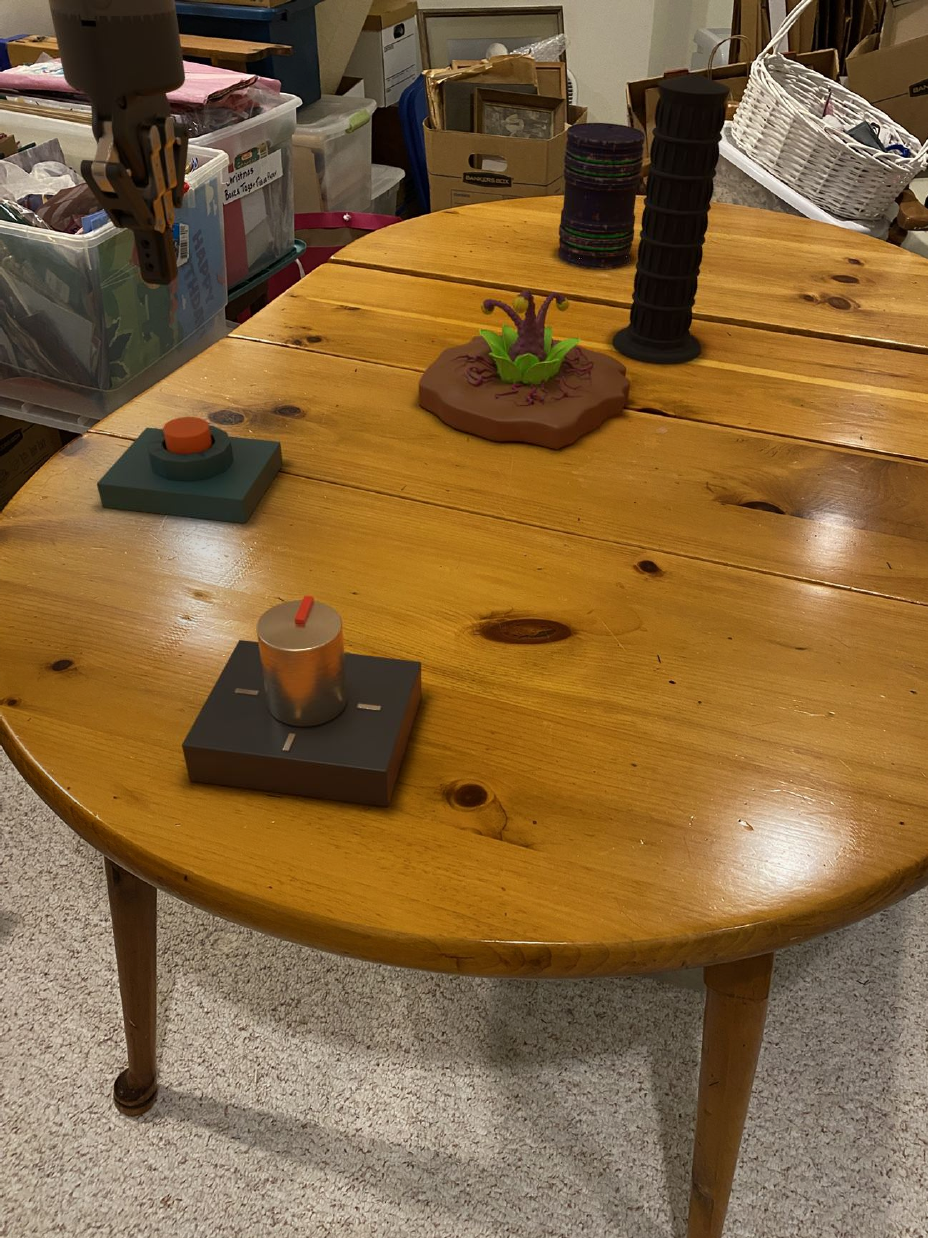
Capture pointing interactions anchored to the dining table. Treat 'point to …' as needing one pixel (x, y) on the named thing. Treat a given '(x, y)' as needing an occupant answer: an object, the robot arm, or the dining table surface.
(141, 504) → the button block
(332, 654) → the knob
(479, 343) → the plant
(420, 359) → the dining table surface
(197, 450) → the button
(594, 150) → the storage jar
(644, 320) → the handle grip
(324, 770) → the panel
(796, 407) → the dining table surface
